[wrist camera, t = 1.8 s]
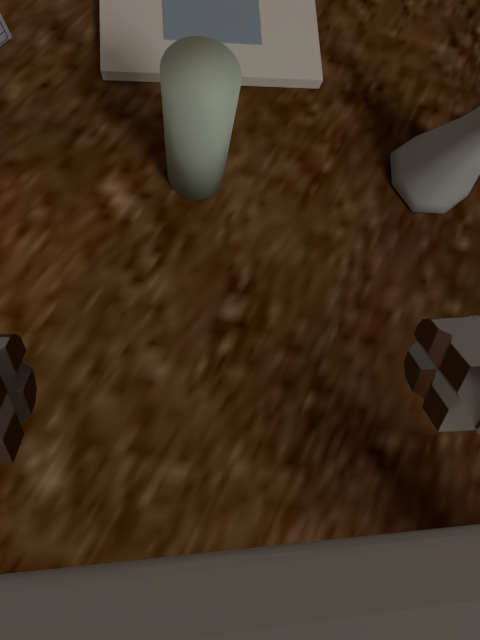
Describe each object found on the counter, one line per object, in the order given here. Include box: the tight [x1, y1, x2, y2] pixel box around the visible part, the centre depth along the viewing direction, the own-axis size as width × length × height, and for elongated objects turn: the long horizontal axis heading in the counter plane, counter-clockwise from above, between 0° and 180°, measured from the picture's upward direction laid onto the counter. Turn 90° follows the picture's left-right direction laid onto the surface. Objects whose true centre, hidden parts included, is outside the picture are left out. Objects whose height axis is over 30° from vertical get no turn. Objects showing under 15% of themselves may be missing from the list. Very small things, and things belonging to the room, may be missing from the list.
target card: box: [100, 0, 323, 89], centre depth 35 cm, size 18×14×1 cm
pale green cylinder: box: [160, 36, 242, 200], centre depth 28 cm, size 4×4×11 cm
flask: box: [390, 106, 480, 214], centre depth 31 cm, size 7×7×10 cm
